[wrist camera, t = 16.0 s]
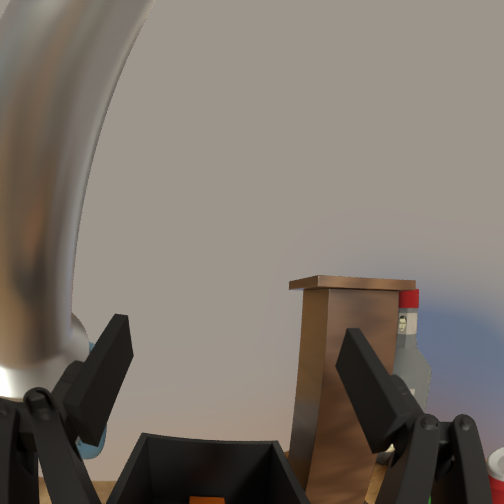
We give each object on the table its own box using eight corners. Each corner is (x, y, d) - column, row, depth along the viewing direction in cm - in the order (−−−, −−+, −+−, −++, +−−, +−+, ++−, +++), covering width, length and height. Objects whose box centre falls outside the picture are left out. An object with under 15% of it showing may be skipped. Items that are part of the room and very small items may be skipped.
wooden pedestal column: (286, 534, 20) (318, 275, 25) (270, 491, 30) (289, 281, 35) (372, 517, 22) (415, 280, 26) (343, 482, 31) (369, 285, 36)
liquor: (383, 438, 45) (401, 291, 50) (419, 450, 37) (442, 289, 42) (352, 452, 41) (372, 289, 46) (390, 469, 33) (417, 287, 37)
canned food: (517, 530, 7) (557, 455, 9) (469, 559, 7) (516, 485, 9) (487, 507, 15) (517, 438, 16) (441, 528, 15) (474, 458, 17)
